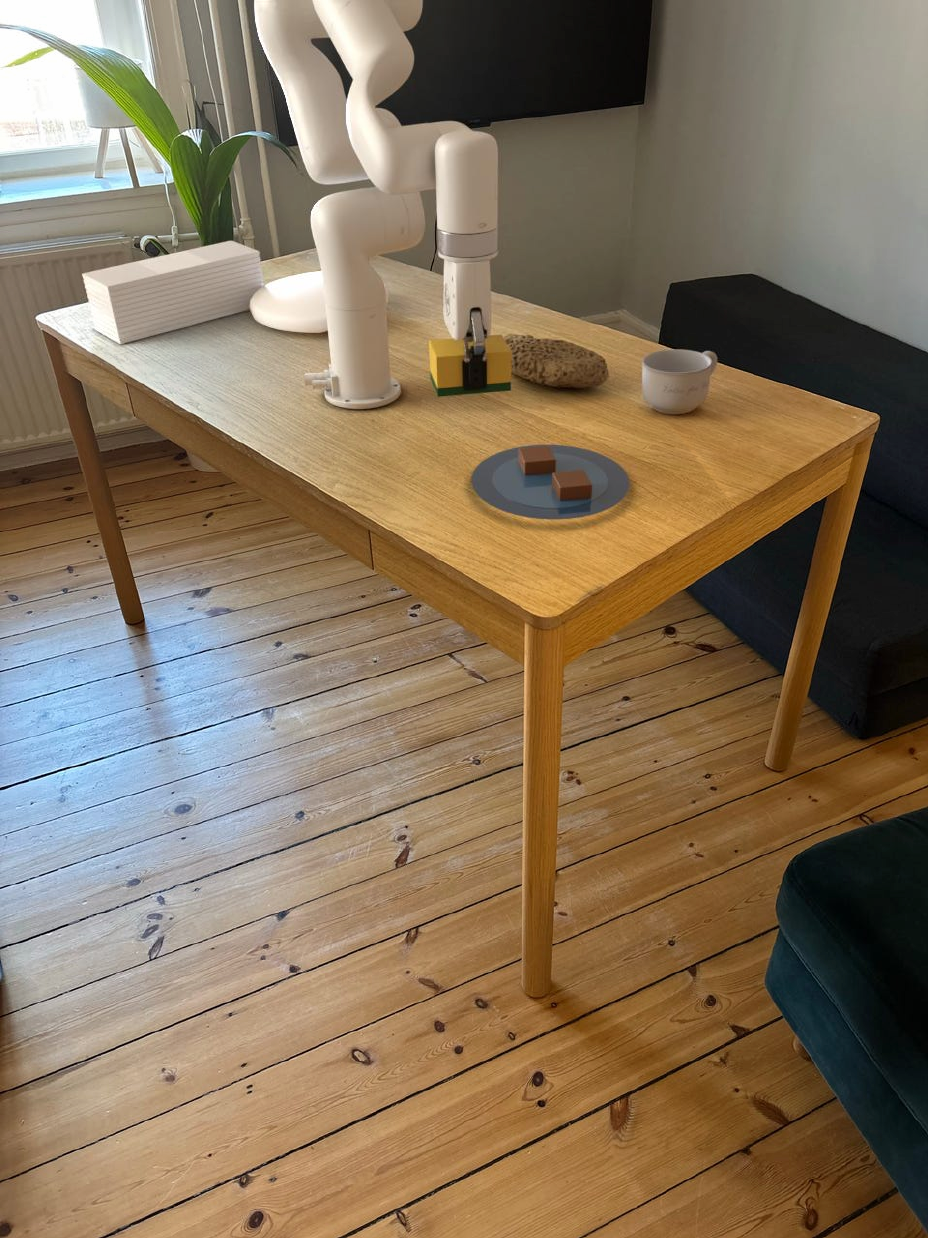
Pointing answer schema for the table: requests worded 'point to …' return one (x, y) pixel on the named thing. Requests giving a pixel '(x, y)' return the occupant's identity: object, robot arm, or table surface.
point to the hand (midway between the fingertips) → (469, 377)
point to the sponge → (555, 362)
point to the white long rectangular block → (173, 290)
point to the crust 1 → (536, 460)
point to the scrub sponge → (449, 366)
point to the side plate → (549, 484)
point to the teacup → (677, 379)
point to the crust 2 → (571, 485)
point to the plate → (294, 304)
